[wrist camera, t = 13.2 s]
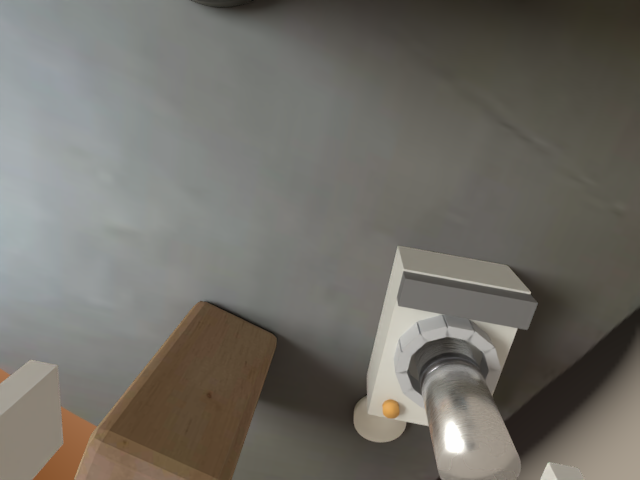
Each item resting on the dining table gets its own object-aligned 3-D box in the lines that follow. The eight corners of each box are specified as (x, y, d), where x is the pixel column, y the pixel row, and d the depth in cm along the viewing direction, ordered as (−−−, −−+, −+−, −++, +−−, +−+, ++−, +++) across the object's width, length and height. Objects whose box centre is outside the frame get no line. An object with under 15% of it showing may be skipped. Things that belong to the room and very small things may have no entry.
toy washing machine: (397, 245, 41) (406, 278, 34) (507, 265, 41) (540, 303, 33) (366, 375, 46) (367, 429, 39) (463, 394, 46) (483, 452, 39)
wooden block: (281, 334, 46) (227, 498, 27) (247, 397, 49) (177, 583, 30) (200, 294, 45) (85, 435, 26) (170, 361, 48) (50, 529, 30)
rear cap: (358, 387, 47) (358, 396, 46) (409, 396, 47) (411, 406, 46) (349, 427, 49) (349, 437, 48) (399, 436, 49) (400, 446, 48)
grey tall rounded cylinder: (402, 358, 38) (420, 467, 27) (443, 322, 37) (480, 421, 25) (443, 390, 39) (477, 509, 28) (484, 356, 37) (539, 467, 26)
